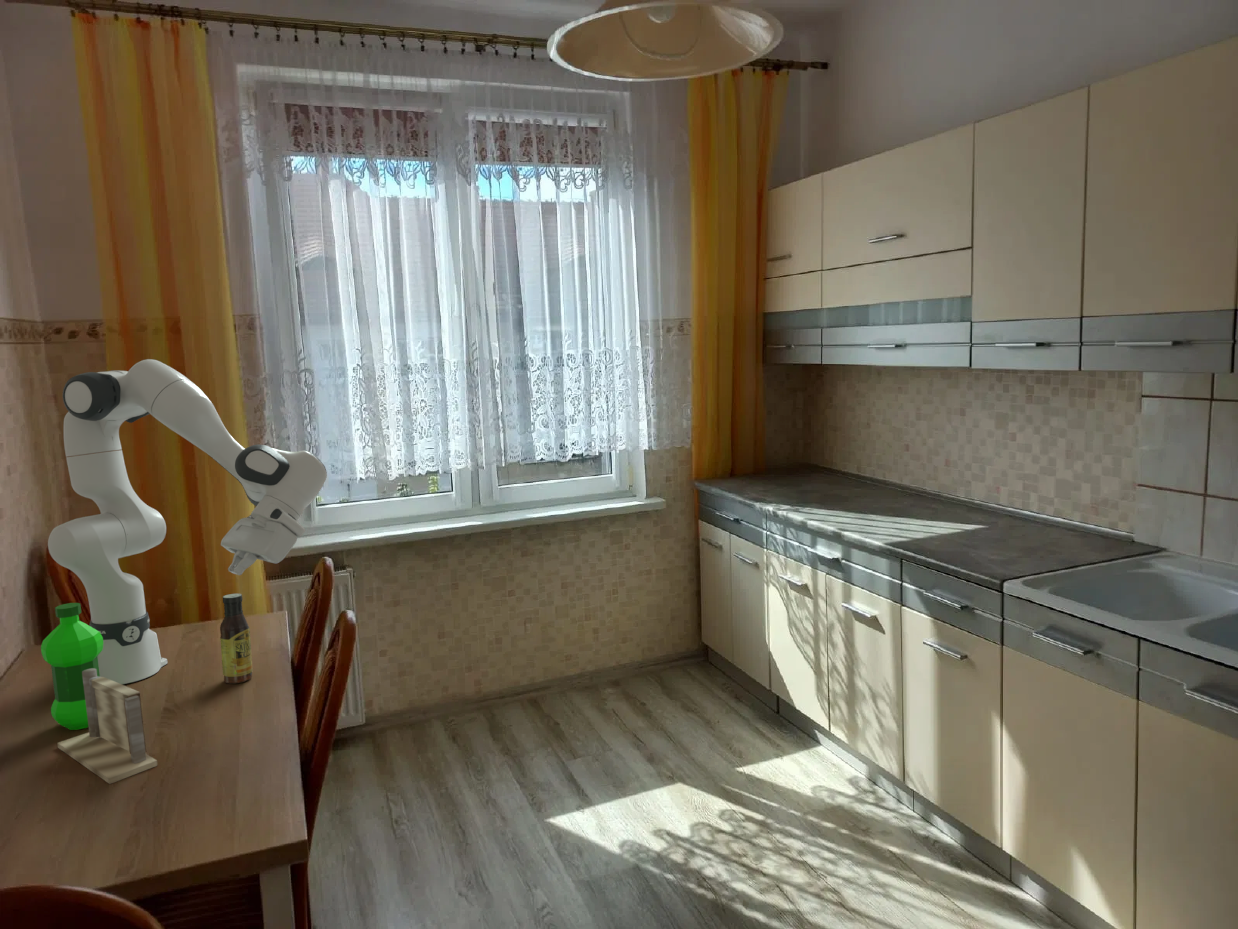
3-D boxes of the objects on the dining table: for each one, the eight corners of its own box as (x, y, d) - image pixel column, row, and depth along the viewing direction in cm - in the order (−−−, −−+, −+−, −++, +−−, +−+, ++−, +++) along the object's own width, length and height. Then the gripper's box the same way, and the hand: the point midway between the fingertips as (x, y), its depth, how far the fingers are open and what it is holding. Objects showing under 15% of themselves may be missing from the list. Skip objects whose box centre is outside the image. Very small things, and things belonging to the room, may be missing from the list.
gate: (93, 735, 162) (87, 678, 161) (104, 731, 164) (98, 674, 162) (135, 756, 153) (128, 695, 152) (146, 752, 155) (139, 691, 153)
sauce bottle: (242, 685, 189) (234, 600, 187) (217, 684, 191) (209, 599, 188) (259, 674, 196) (252, 592, 193) (236, 673, 197) (228, 591, 194)
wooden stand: (58, 747, 161) (49, 678, 159) (103, 732, 167) (95, 665, 166) (109, 784, 146) (100, 707, 145) (157, 765, 153) (149, 692, 151)
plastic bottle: (76, 713, 177) (62, 598, 174) (123, 714, 176) (109, 598, 173) (39, 735, 167) (23, 613, 164) (88, 735, 166) (73, 613, 163)
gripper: (238, 505, 185) (198, 558, 179) (288, 514, 172) (247, 571, 166) (259, 522, 189) (220, 574, 183) (310, 531, 176) (270, 588, 170)
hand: (233, 572), depth 174 cm, fingers closed
